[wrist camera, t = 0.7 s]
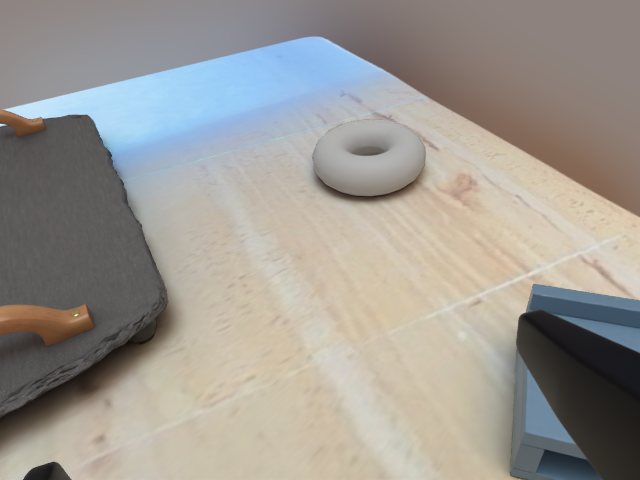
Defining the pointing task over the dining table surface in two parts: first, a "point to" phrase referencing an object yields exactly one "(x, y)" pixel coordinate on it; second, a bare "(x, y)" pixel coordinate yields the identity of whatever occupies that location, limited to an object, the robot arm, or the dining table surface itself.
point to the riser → (529, 402)
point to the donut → (369, 157)
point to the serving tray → (66, 257)
